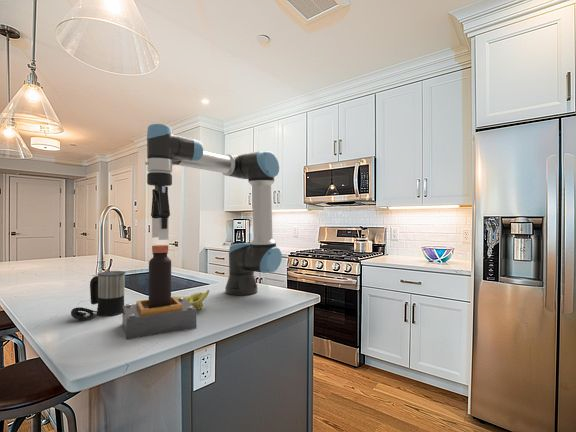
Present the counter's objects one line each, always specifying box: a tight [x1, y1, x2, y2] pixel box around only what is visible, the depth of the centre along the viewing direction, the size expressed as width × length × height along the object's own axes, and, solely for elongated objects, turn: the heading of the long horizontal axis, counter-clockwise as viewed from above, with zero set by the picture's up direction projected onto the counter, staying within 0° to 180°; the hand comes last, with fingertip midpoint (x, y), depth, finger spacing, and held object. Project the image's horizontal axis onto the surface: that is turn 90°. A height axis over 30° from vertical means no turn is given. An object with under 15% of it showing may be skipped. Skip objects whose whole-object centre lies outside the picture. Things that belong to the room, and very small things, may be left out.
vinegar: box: [148, 244, 172, 308], centre depth 104 cm, size 7×7×20 cm
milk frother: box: [70, 270, 126, 321], centre depth 116 cm, size 14×16×15 cm
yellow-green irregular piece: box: [174, 289, 210, 310], centre depth 126 cm, size 20×7×10 cm
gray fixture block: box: [121, 296, 198, 341], centre depth 104 cm, size 20×16×8 cm
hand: (159, 238), depth 105 cm, fingers open, 13 cm apart
